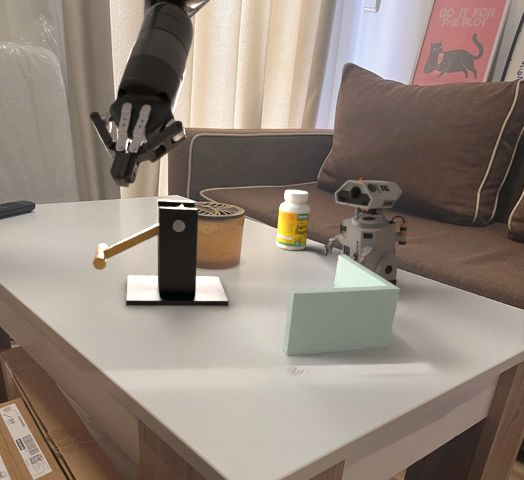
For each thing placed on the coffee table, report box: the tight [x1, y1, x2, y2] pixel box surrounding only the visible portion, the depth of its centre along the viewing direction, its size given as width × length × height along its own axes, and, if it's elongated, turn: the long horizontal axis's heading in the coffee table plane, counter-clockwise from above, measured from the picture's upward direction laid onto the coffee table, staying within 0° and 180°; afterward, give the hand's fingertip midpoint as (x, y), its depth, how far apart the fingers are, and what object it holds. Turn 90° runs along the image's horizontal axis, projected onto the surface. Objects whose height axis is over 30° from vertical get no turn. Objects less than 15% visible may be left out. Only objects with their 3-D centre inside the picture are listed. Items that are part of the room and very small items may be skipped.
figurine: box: [324, 177, 408, 287], centre depth 75 cm, size 9×12×15 cm
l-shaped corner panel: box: [282, 254, 401, 356], centre depth 59 cm, size 12×12×8 cm
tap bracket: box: [125, 199, 230, 307], centre depth 64 cm, size 12×9×12 cm
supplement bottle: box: [276, 189, 311, 251], centre depth 92 cm, size 5×5×10 cm
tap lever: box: [92, 204, 184, 271], centre depth 62 cm, size 12×6×2 cm, turn 102°
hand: (120, 182), depth 65 cm, fingers closed
